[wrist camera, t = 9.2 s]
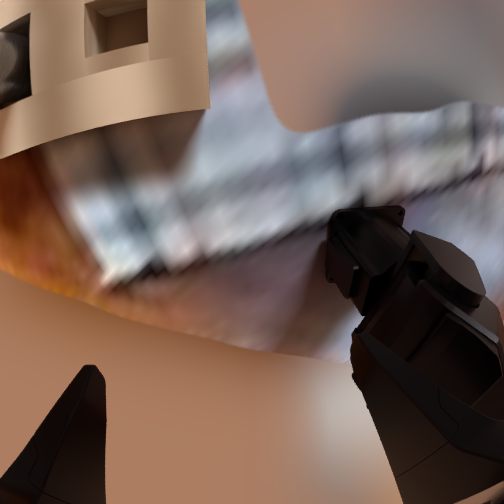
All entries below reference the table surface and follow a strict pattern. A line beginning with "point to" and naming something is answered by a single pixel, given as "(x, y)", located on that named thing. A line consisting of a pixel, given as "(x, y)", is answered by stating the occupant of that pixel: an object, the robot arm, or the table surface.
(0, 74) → the peg
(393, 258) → the robot arm
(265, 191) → the table surface
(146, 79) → the bore block
